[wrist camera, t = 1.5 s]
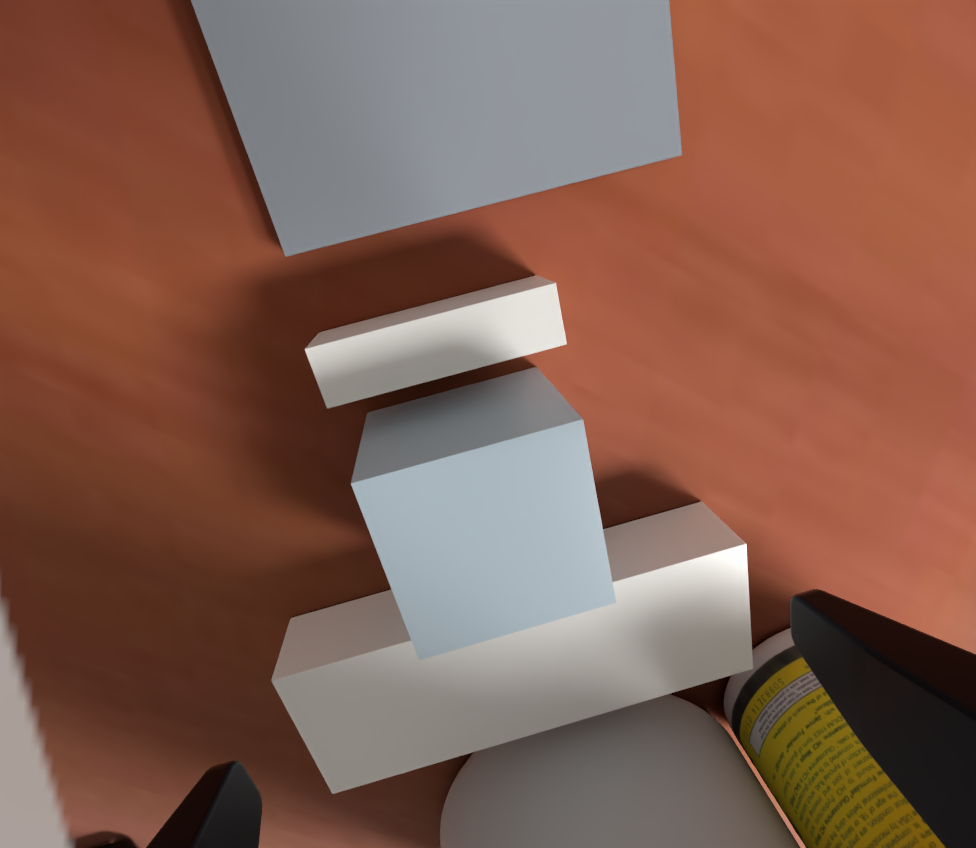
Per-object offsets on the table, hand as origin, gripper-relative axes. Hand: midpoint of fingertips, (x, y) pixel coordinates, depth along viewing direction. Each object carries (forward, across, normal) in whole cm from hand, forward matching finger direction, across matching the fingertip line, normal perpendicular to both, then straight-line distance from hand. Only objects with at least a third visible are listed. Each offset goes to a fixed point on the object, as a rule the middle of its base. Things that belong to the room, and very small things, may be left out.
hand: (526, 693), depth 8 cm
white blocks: (+8, 0, +2) cm, 8 cm away
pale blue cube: (+8, 0, 0) cm, 8 cm away
